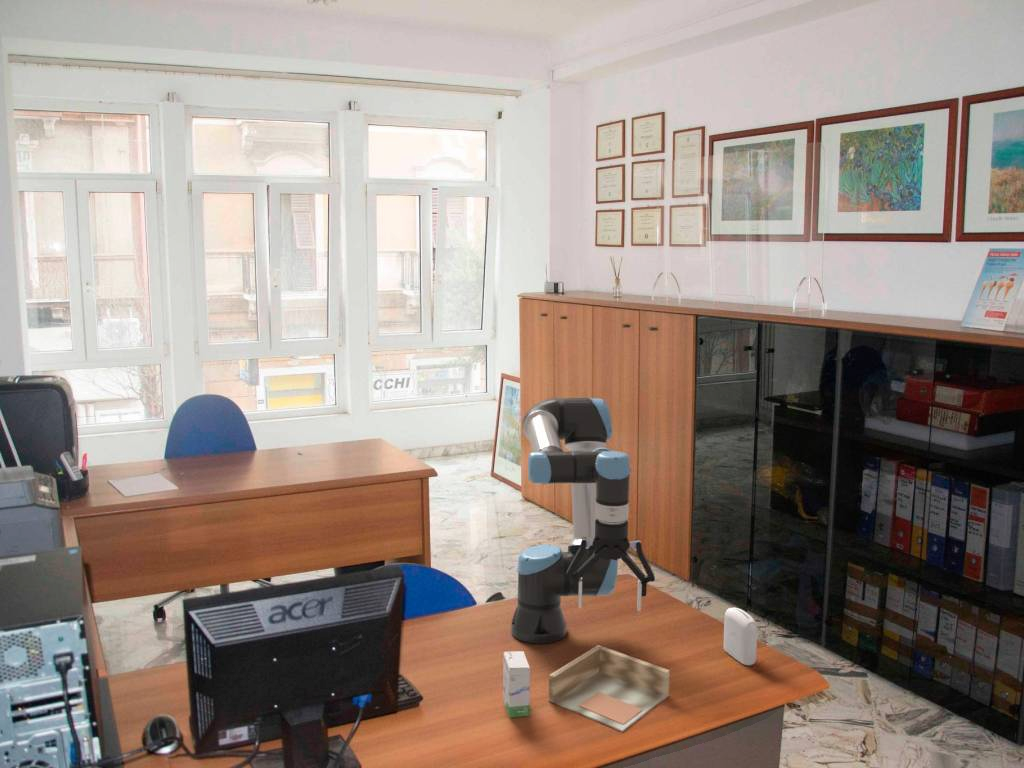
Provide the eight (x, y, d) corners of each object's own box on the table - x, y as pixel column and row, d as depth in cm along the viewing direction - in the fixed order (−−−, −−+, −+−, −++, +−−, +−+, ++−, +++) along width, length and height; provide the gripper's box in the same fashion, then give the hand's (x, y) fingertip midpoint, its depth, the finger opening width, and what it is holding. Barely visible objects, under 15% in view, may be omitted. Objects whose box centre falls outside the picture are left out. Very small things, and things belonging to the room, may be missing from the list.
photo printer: (720, 649, 228) (722, 604, 226) (734, 646, 229) (736, 602, 227) (743, 667, 218) (746, 620, 216) (758, 664, 220) (760, 618, 218)
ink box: (530, 716, 195) (530, 667, 193) (508, 718, 194) (508, 668, 192) (523, 696, 203) (523, 649, 201) (502, 698, 202) (502, 651, 201)
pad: (578, 706, 199) (578, 705, 199) (598, 692, 205) (598, 691, 205) (623, 724, 191) (623, 723, 191) (642, 710, 197) (642, 709, 197)
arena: (548, 700, 202) (549, 675, 200) (597, 669, 217) (598, 644, 216) (622, 732, 189) (623, 704, 188) (668, 695, 204) (669, 670, 203)
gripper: (556, 522, 196) (554, 611, 200) (668, 527, 194) (664, 616, 198) (557, 512, 204) (556, 598, 207) (665, 516, 201) (662, 603, 205)
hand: (609, 607), depth 202 cm, fingers open, 13 cm apart
